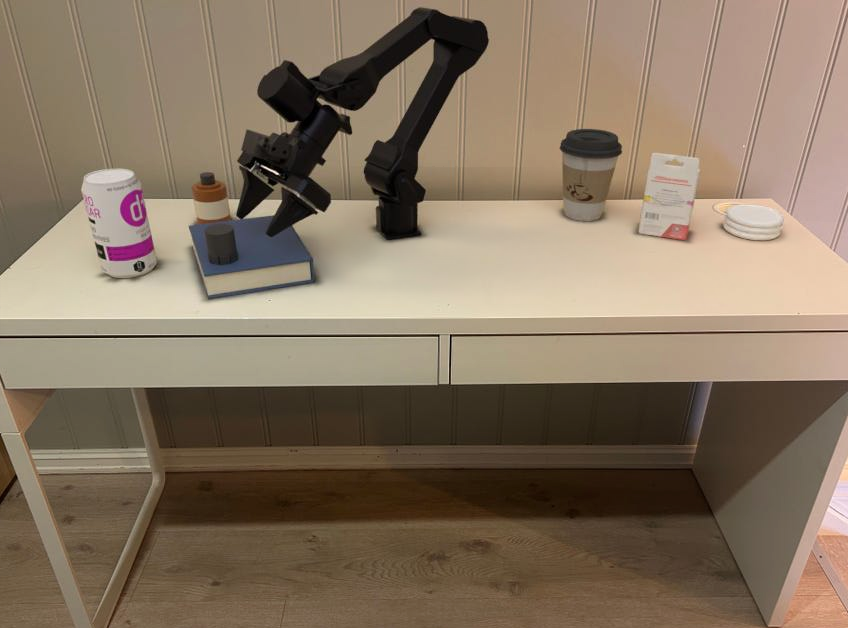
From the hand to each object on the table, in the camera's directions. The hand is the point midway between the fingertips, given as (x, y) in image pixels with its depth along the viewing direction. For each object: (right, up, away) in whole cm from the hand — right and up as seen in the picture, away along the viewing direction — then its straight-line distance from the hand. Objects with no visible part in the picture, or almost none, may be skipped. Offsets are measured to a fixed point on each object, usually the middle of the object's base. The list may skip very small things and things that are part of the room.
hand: (253, 226), depth 111 cm
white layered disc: (+85, +3, +24) cm, 89 cm away
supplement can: (-21, -6, +5) cm, 22 cm away
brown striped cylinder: (-13, +4, +21) cm, 25 cm away
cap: (-4, -5, -1) cm, 7 cm away
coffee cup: (+55, +7, +29) cm, 63 cm away
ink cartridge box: (+69, +3, +22) cm, 72 cm away
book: (-2, -5, +7) cm, 9 cm away
